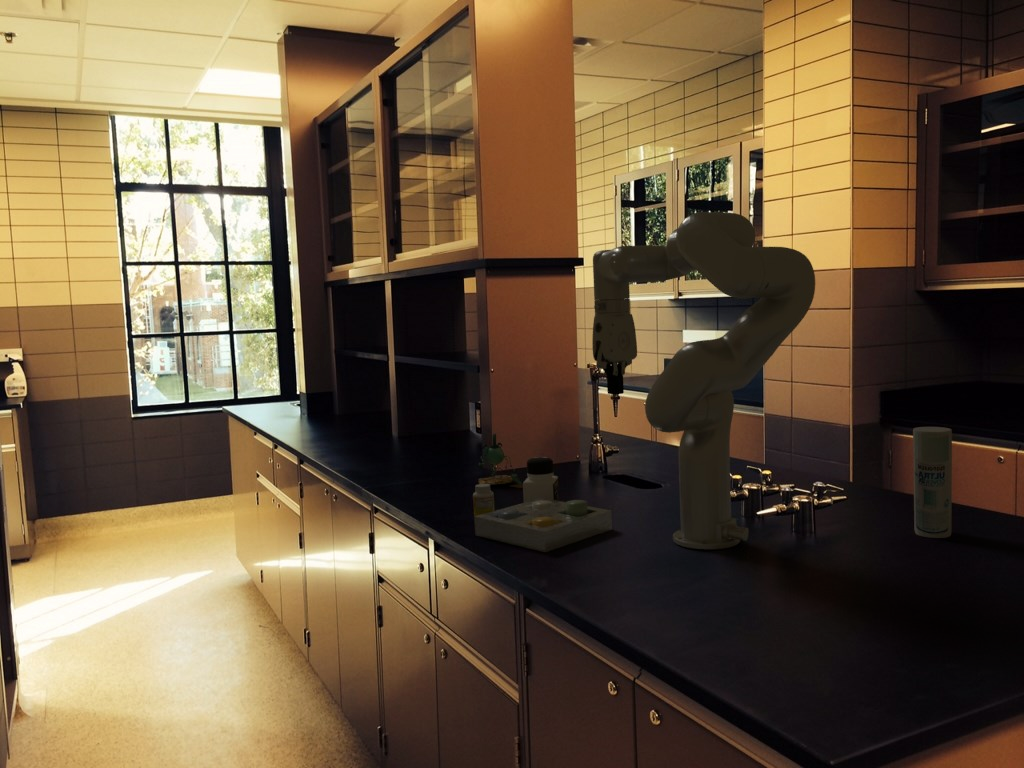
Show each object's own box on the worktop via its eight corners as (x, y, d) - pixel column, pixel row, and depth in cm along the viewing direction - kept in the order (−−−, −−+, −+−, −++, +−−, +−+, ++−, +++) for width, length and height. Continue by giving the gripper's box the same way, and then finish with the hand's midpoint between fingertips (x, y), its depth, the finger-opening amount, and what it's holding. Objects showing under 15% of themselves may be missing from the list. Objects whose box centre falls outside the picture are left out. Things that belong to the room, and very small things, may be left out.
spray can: (953, 530, 157) (952, 427, 156) (951, 539, 152) (951, 432, 150) (915, 527, 161) (914, 426, 159) (912, 536, 155) (911, 431, 153)
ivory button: (557, 520, 178) (556, 502, 177) (543, 524, 175) (542, 506, 174) (542, 517, 181) (541, 499, 180) (528, 521, 178) (527, 503, 177)
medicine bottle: (555, 513, 186) (552, 460, 185) (523, 513, 188) (521, 461, 187) (559, 505, 193) (557, 455, 192) (529, 505, 195) (527, 455, 194)
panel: (612, 529, 170) (611, 510, 170) (545, 552, 157) (544, 531, 156) (542, 515, 185) (541, 497, 184) (475, 535, 171) (474, 516, 171)
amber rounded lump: (559, 538, 163) (558, 518, 163) (544, 543, 160) (543, 523, 160) (543, 535, 167) (542, 515, 166) (528, 539, 164) (527, 520, 163)
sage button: (592, 520, 170) (591, 501, 170) (578, 525, 167) (577, 505, 167) (576, 517, 173) (575, 498, 173) (562, 522, 170) (561, 503, 170)
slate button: (524, 530, 171) (523, 511, 170) (509, 535, 168) (508, 516, 167) (509, 527, 174) (508, 508, 174) (494, 531, 171) (493, 512, 170)
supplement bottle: (480, 519, 184) (478, 482, 183) (498, 520, 182) (496, 483, 181) (470, 524, 180) (468, 486, 179) (489, 526, 178) (487, 487, 177)
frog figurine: (499, 493, 210) (492, 435, 210) (468, 489, 226) (461, 435, 226) (531, 487, 215) (524, 430, 215) (498, 483, 231) (492, 431, 231)
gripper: (603, 308, 168) (606, 398, 170) (647, 306, 179) (650, 390, 180) (575, 310, 174) (579, 396, 175) (620, 307, 184) (623, 389, 186)
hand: (615, 393), depth 178 cm, fingers closed
